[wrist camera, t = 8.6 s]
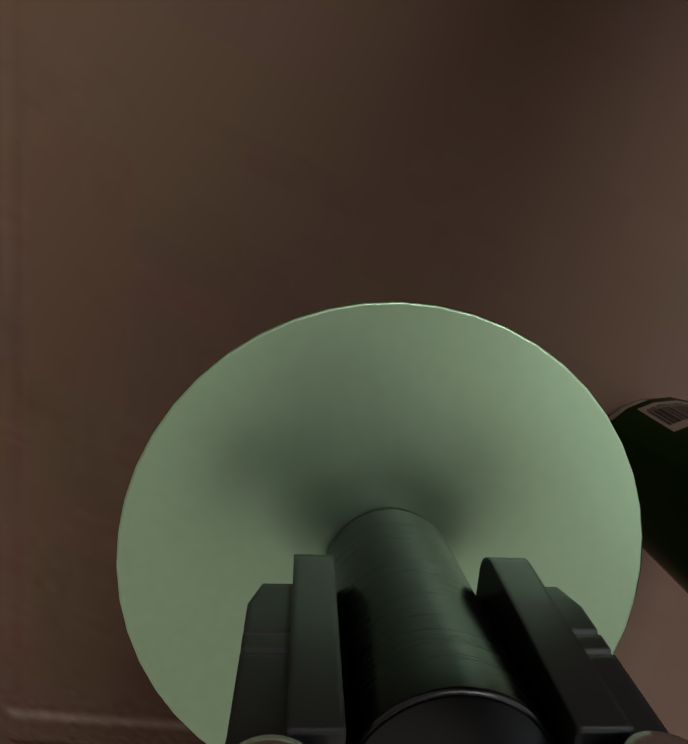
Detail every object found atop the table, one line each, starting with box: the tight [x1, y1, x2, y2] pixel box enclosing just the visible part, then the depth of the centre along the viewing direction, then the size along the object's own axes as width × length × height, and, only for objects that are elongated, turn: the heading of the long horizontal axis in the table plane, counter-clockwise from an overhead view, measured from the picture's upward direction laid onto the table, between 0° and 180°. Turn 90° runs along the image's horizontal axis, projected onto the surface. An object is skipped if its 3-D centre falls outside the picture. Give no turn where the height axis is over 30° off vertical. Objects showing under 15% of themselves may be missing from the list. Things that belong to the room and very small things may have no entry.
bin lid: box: [116, 300, 643, 744], centre depth 10 cm, size 12×12×7 cm
